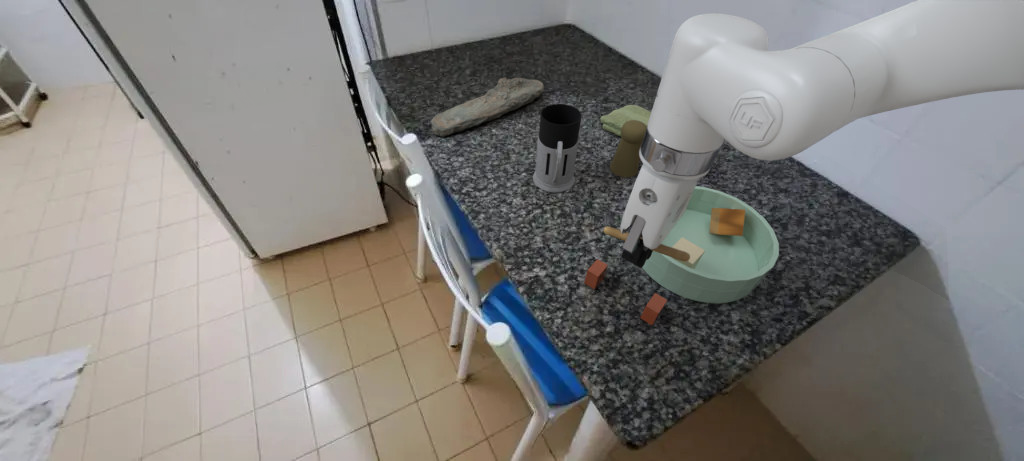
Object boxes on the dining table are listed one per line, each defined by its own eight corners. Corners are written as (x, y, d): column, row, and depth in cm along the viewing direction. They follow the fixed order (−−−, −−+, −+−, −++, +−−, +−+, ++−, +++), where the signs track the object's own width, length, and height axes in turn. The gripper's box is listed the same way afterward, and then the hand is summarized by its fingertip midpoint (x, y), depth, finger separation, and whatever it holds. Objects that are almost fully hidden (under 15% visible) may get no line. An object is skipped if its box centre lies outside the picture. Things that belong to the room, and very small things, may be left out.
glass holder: (574, 167, 85) (584, 103, 74) (575, 212, 75) (587, 146, 64) (533, 164, 85) (538, 100, 74) (530, 209, 75) (534, 143, 65)
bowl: (776, 246, 70) (794, 222, 65) (736, 328, 58) (754, 306, 54) (663, 194, 79) (672, 170, 75) (609, 256, 67) (616, 232, 63)
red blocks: (660, 312, 60) (667, 299, 57) (652, 325, 58) (658, 313, 56) (593, 272, 65) (597, 258, 62) (584, 283, 63) (587, 270, 61)
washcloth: (626, 109, 102) (629, 97, 100) (687, 136, 94) (692, 124, 91) (595, 127, 96) (597, 115, 94) (658, 158, 87) (662, 146, 85)
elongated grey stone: (423, 130, 96) (446, 150, 91) (419, 112, 92) (443, 131, 87) (527, 81, 111) (552, 96, 106) (528, 64, 107) (553, 78, 102)
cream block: (695, 268, 65) (705, 250, 62) (683, 281, 63) (692, 264, 60) (673, 254, 67) (682, 236, 64) (661, 267, 65) (669, 249, 62)
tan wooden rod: (692, 253, 49) (689, 254, 48) (689, 261, 49) (686, 263, 48) (607, 224, 56) (603, 225, 55) (605, 232, 56) (601, 233, 55)
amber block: (732, 234, 70) (735, 209, 70) (742, 236, 66) (745, 209, 66) (709, 232, 71) (711, 207, 70) (717, 234, 67) (720, 208, 66)
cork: (608, 174, 83) (618, 129, 75) (611, 158, 87) (622, 113, 79) (636, 179, 82) (651, 134, 74) (638, 163, 86) (652, 118, 78)
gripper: (682, 200, 36) (633, 308, 49) (738, 130, 44) (683, 239, 57) (610, 166, 39) (582, 277, 52) (675, 107, 47) (637, 216, 60)
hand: (635, 257), depth 55 cm, fingers closed on tan wooden rod, 1 cm apart
